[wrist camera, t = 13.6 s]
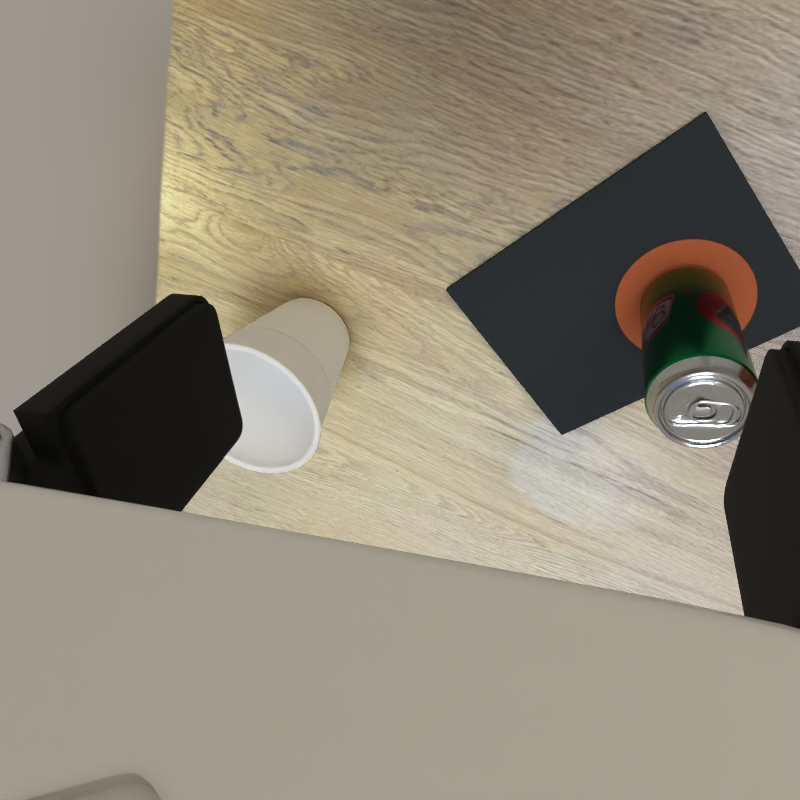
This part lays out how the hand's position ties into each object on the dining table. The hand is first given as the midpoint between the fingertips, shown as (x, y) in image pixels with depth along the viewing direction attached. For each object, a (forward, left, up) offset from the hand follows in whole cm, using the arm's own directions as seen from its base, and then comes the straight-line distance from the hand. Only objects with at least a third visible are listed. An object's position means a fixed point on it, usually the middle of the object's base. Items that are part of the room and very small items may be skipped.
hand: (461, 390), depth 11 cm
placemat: (+4, +12, -30) cm, 33 cm away
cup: (+24, +2, -31) cm, 39 cm away
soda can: (+1, +14, -30) cm, 33 cm away
